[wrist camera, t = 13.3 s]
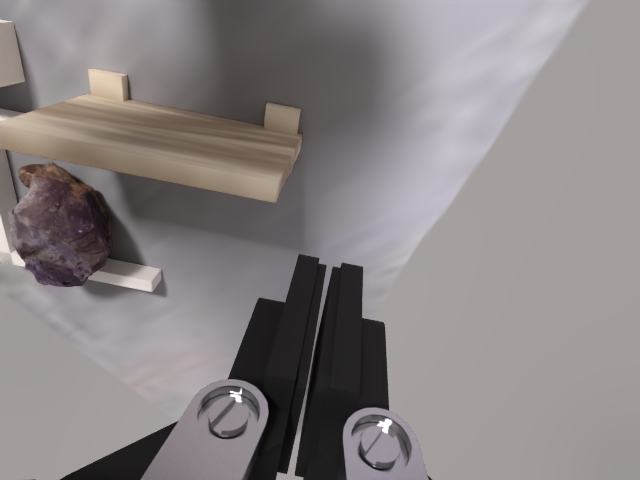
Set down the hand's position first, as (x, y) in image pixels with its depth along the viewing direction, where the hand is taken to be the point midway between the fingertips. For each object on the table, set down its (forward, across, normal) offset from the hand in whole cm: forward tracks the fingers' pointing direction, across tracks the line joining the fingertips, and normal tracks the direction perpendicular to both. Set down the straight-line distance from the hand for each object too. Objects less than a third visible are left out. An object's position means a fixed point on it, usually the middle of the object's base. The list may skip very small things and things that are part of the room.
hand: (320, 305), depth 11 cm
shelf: (+29, +14, +5) cm, 33 cm away
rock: (+29, +26, +17) cm, 43 cm away
